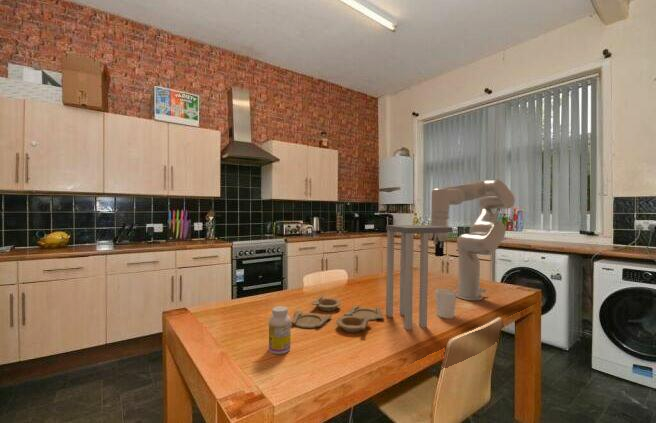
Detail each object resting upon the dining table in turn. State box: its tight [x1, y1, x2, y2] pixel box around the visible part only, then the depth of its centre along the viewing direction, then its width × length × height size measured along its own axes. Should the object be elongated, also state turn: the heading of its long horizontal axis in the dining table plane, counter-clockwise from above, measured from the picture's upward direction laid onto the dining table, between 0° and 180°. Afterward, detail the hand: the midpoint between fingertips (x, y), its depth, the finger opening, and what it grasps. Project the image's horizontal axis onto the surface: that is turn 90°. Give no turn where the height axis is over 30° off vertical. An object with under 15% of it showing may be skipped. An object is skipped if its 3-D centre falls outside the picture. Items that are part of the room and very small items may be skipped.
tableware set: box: [291, 294, 385, 333], centre depth 118 cm, size 35×29×4 cm
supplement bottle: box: [268, 305, 292, 355], centre depth 91 cm, size 7×7×13 cm
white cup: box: [435, 288, 457, 319], centre depth 122 cm, size 8×8×10 cm
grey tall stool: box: [385, 224, 453, 331], centre depth 117 cm, size 20×15×37 cm
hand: (439, 256), depth 135 cm, fingers closed
